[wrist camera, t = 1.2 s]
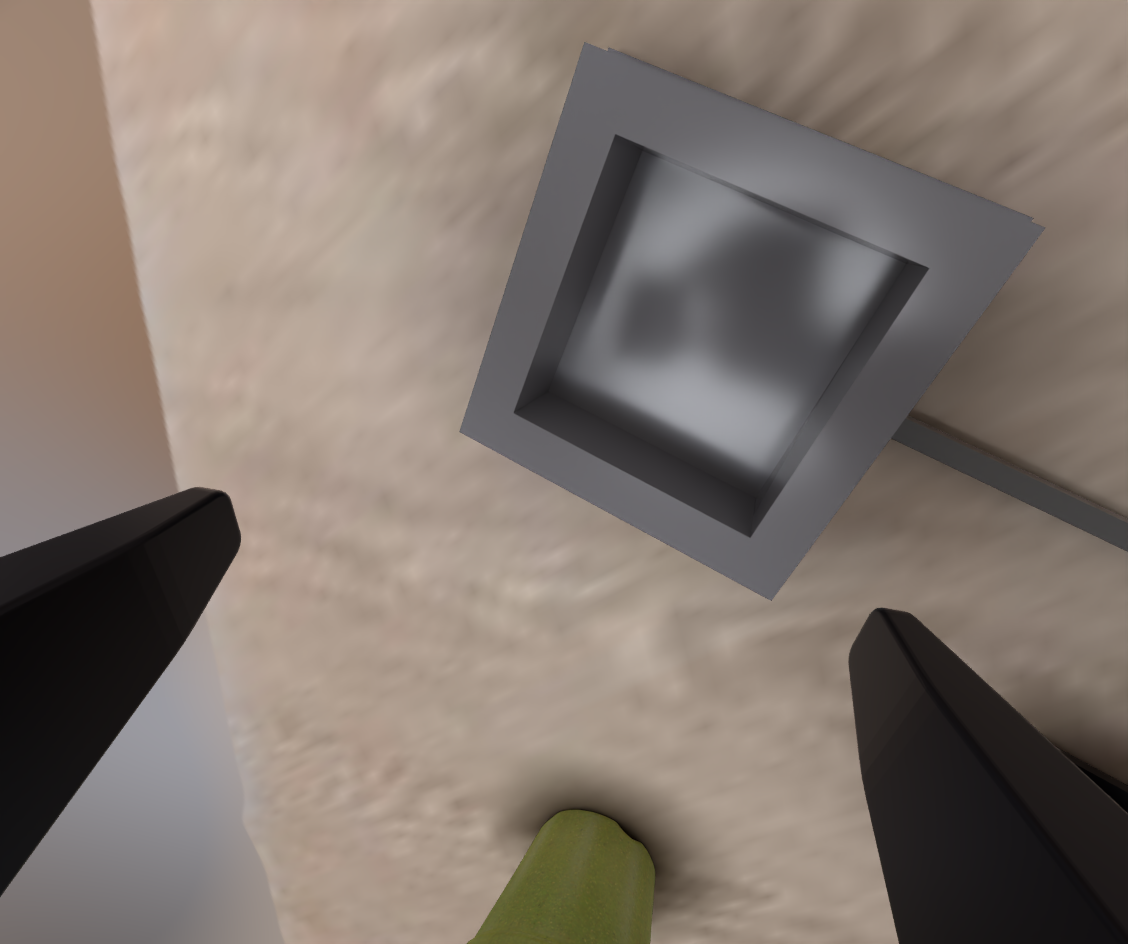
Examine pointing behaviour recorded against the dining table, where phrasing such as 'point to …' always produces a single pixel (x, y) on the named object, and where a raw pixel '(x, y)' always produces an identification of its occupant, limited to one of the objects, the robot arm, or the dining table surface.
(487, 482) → the dining table surface
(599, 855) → the plant pot
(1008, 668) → the dining table surface
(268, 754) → the dining table surface
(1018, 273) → the dining table surface
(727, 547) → the grey square pan
